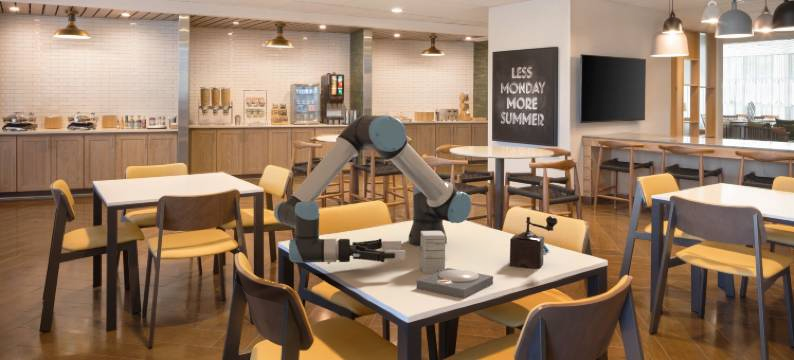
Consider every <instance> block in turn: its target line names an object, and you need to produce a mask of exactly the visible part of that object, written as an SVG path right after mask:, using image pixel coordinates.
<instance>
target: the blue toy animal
mask: <svg viewBox="0 0 794 360" xmlns="http://www.w3.org/2000/svg"><path fill="white" fill-rule="evenodd" d="M529 231H530V232H532V233H534V232H533V231H532V230H529ZM544 251H545V252H547V253H549V252H550V250H549V248H548V247H547V246H546V245H545V244H544Z"/></svg>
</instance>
